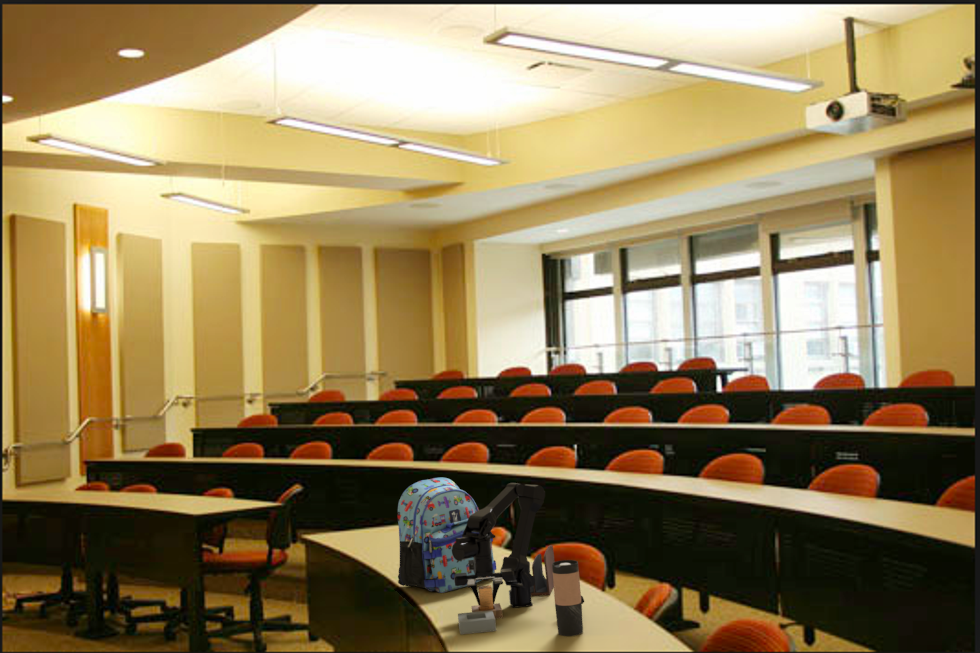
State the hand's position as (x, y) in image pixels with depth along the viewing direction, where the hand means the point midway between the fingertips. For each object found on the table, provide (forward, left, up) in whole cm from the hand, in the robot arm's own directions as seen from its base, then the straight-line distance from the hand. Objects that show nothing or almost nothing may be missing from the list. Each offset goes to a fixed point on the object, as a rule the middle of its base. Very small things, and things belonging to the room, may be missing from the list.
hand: (486, 604), depth 316 cm
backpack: (+10, -53, -4) cm, 54 cm away
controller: (-25, +14, -4) cm, 29 cm away
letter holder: (-20, -30, -4) cm, 36 cm away
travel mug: (-22, +28, -4) cm, 36 cm away
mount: (0, 0, -4) cm, 4 cm away
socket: (+4, +13, -4) cm, 14 cm away
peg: (0, 0, -4) cm, 4 cm away
